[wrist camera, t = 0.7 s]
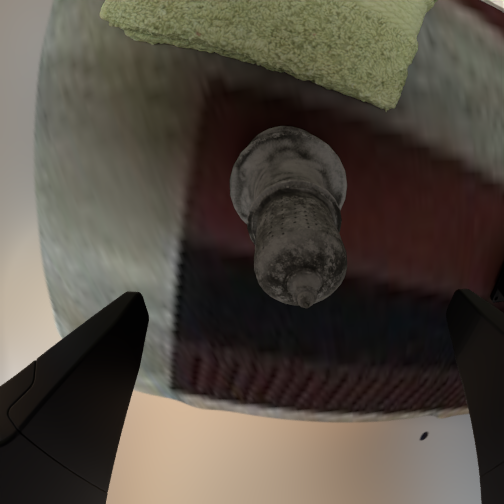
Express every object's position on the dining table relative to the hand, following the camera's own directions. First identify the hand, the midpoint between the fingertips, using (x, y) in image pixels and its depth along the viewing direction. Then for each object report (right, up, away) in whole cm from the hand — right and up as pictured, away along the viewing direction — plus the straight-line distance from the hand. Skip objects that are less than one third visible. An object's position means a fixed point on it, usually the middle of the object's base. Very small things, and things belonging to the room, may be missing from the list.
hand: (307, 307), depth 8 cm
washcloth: (0, +17, +4) cm, 18 cm away
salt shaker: (+1, +7, +10) cm, 12 cm away
